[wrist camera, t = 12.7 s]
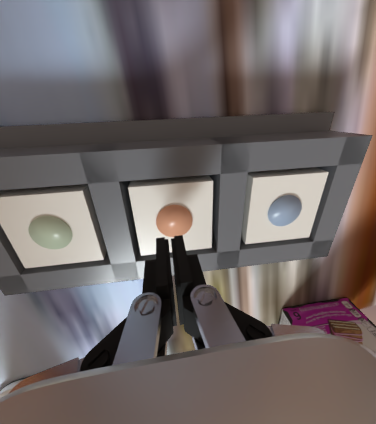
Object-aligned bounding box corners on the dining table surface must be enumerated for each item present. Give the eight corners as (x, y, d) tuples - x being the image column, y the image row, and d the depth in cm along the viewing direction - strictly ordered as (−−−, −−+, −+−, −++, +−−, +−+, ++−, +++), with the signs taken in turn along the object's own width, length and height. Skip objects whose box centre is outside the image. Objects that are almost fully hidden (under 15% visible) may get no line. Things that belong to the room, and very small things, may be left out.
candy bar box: (347, 294, 31) (514, 457, 16) (338, 314, 33) (477, 472, 19) (279, 306, 30) (392, 488, 15) (276, 326, 32) (370, 500, 18)
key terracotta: (204, 229, 19) (211, 249, 17) (143, 235, 19) (140, 256, 16) (204, 170, 17) (213, 181, 14) (133, 175, 16) (127, 188, 13)
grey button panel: (292, 239, 24) (322, 267, 20) (43, 266, 21) (12, 307, 17) (325, 112, 18) (381, 111, 13) (-27, 127, 15) (-106, 134, 10)
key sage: (111, 238, 19) (103, 261, 16) (45, 245, 18) (23, 269, 15) (95, 177, 16) (81, 191, 13) (16, 183, 15) (-17, 199, 12)
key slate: (289, 220, 20) (310, 238, 17) (233, 226, 20) (245, 245, 17) (303, 163, 17) (330, 172, 15) (238, 167, 17) (254, 178, 14)
